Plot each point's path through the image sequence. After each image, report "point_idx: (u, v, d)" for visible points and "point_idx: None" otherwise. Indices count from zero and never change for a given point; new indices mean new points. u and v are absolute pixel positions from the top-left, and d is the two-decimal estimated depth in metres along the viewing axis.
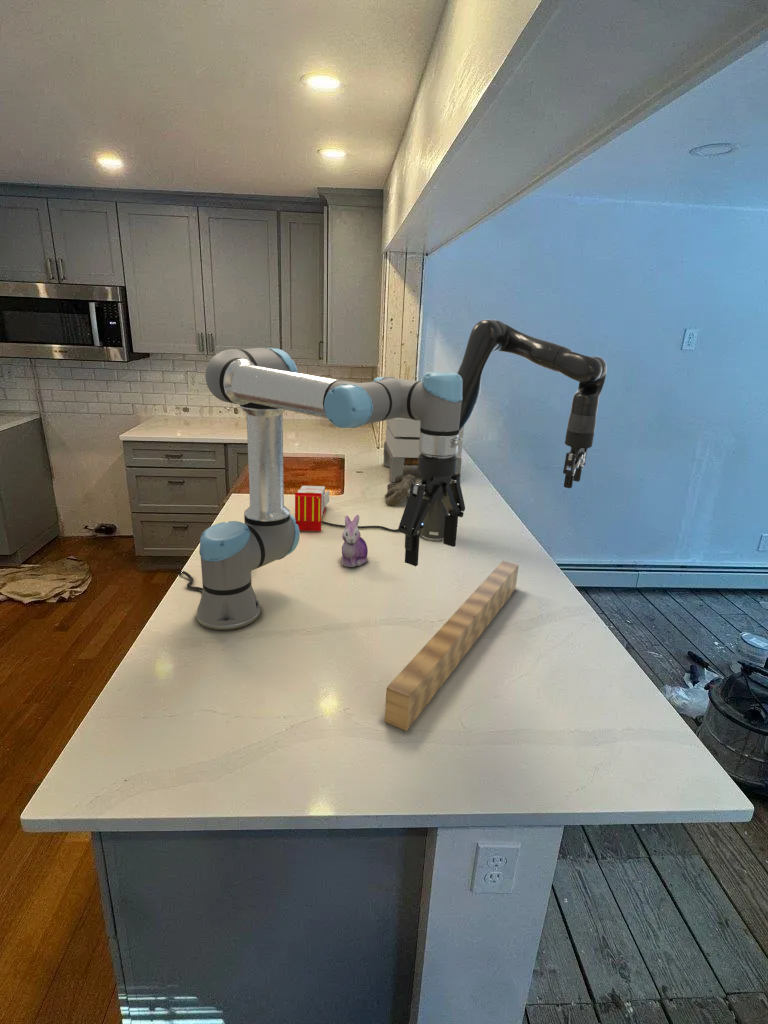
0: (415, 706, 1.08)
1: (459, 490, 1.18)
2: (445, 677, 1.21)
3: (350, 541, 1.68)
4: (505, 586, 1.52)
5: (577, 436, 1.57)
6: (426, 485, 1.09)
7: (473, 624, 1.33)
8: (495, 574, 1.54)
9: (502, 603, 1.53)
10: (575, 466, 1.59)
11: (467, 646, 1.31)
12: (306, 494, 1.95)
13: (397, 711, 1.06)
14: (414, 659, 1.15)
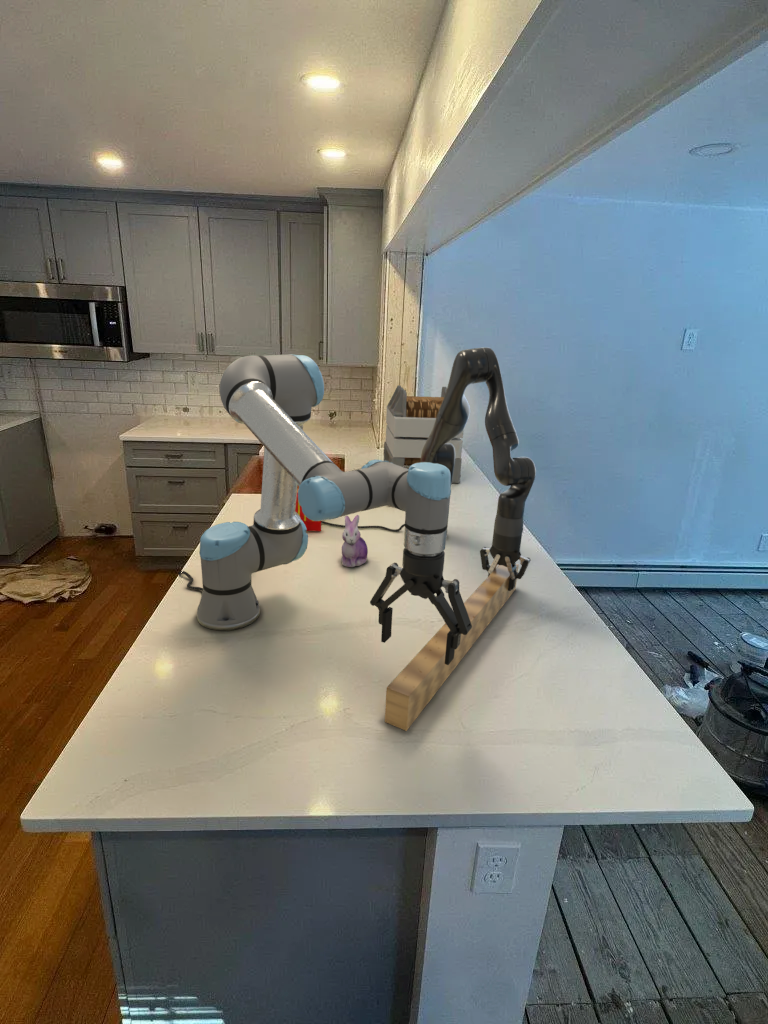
0: (415, 706, 1.08)
1: (454, 605, 1.01)
2: (445, 677, 1.21)
3: (350, 541, 1.68)
4: (505, 586, 1.52)
5: (521, 537, 1.51)
6: (400, 571, 1.05)
7: (473, 624, 1.33)
8: (495, 574, 1.54)
9: (502, 603, 1.53)
10: (515, 567, 1.55)
11: (467, 646, 1.31)
12: None
13: (397, 711, 1.06)
14: (414, 659, 1.15)
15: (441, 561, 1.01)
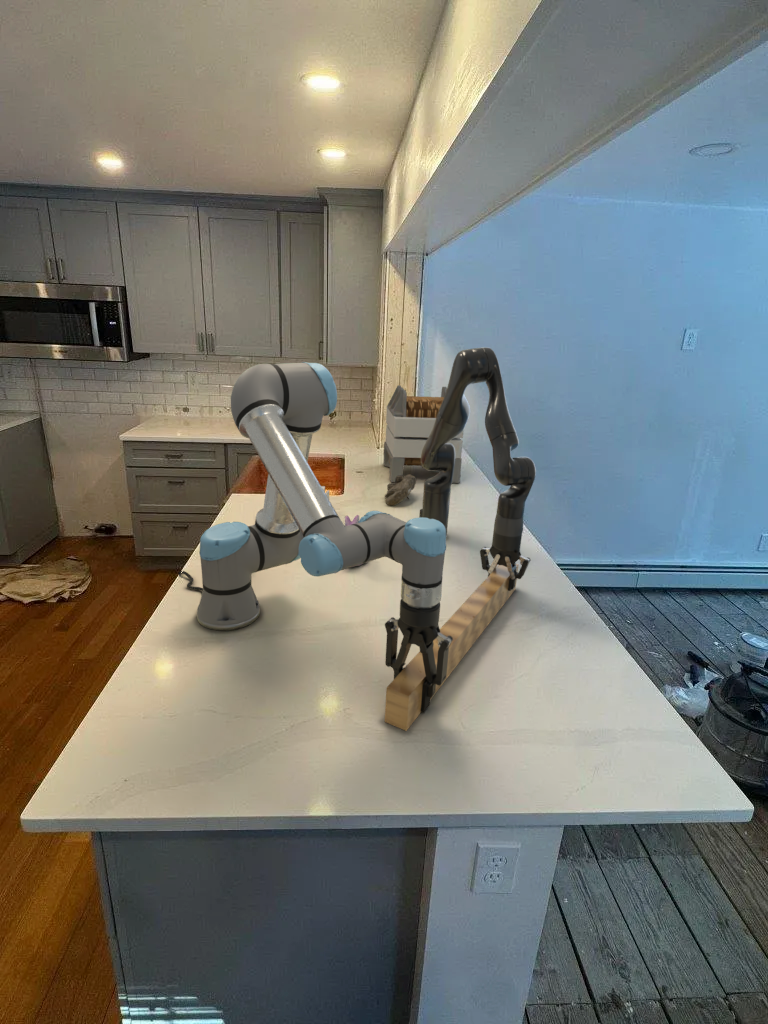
0: (415, 706, 1.08)
1: (440, 659, 1.06)
2: None
3: None
4: (505, 586, 1.52)
5: (521, 537, 1.51)
6: (397, 622, 1.09)
7: (473, 624, 1.33)
8: (495, 574, 1.54)
9: (502, 603, 1.53)
10: (515, 567, 1.55)
11: (467, 646, 1.31)
12: None
13: (397, 711, 1.06)
14: (414, 659, 1.15)
15: (437, 612, 1.04)
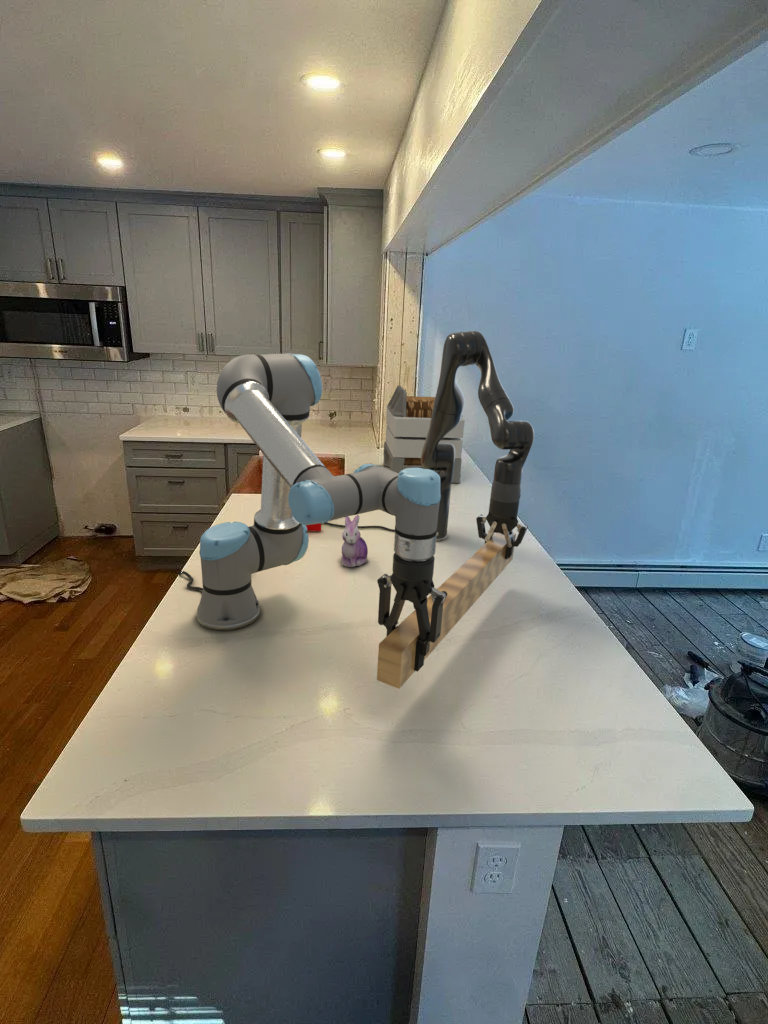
0: (408, 664, 1.05)
1: (434, 614, 1.03)
2: (440, 639, 1.18)
3: (350, 541, 1.68)
4: (502, 554, 1.49)
5: (518, 504, 1.47)
6: (390, 578, 1.06)
7: (469, 588, 1.29)
8: (491, 542, 1.51)
9: (499, 571, 1.50)
10: (512, 535, 1.52)
11: (462, 610, 1.28)
12: None
13: (389, 668, 1.03)
14: (408, 618, 1.12)
15: (431, 566, 1.01)
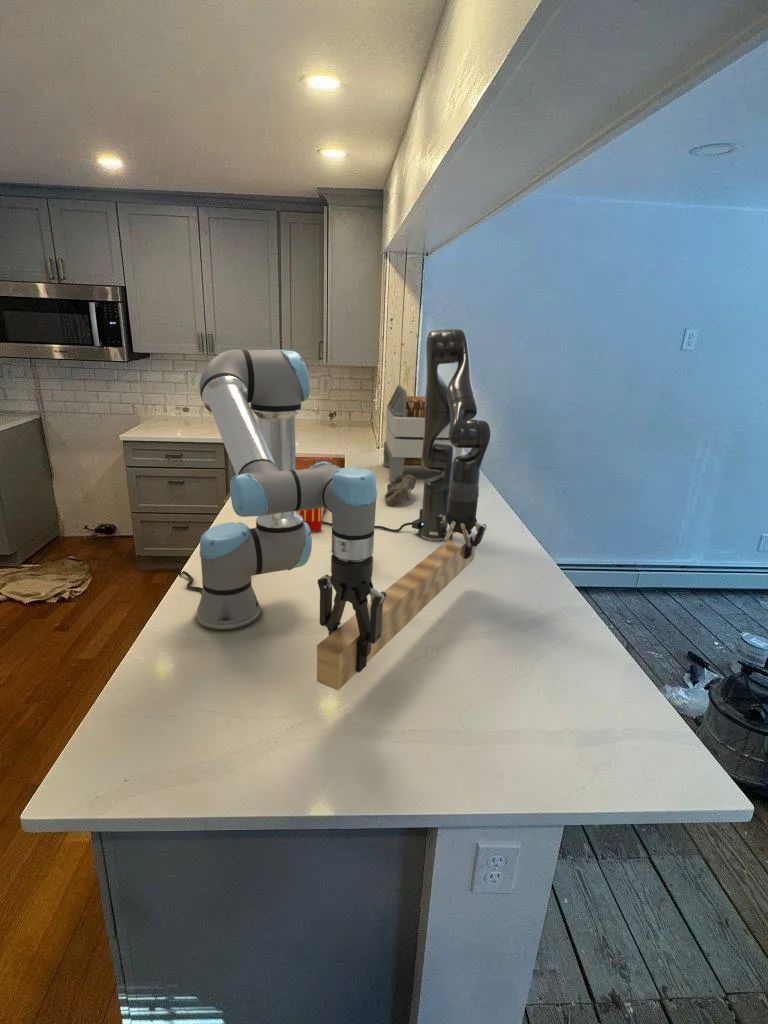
0: (348, 666, 1.04)
1: (373, 615, 1.02)
2: (386, 640, 1.17)
3: None
4: (460, 554, 1.48)
5: (476, 503, 1.46)
6: None
7: (421, 588, 1.28)
8: (450, 541, 1.50)
9: (457, 571, 1.49)
10: (472, 534, 1.51)
11: (413, 611, 1.27)
12: None
13: (328, 669, 1.02)
14: (351, 619, 1.11)
15: (368, 566, 1.00)
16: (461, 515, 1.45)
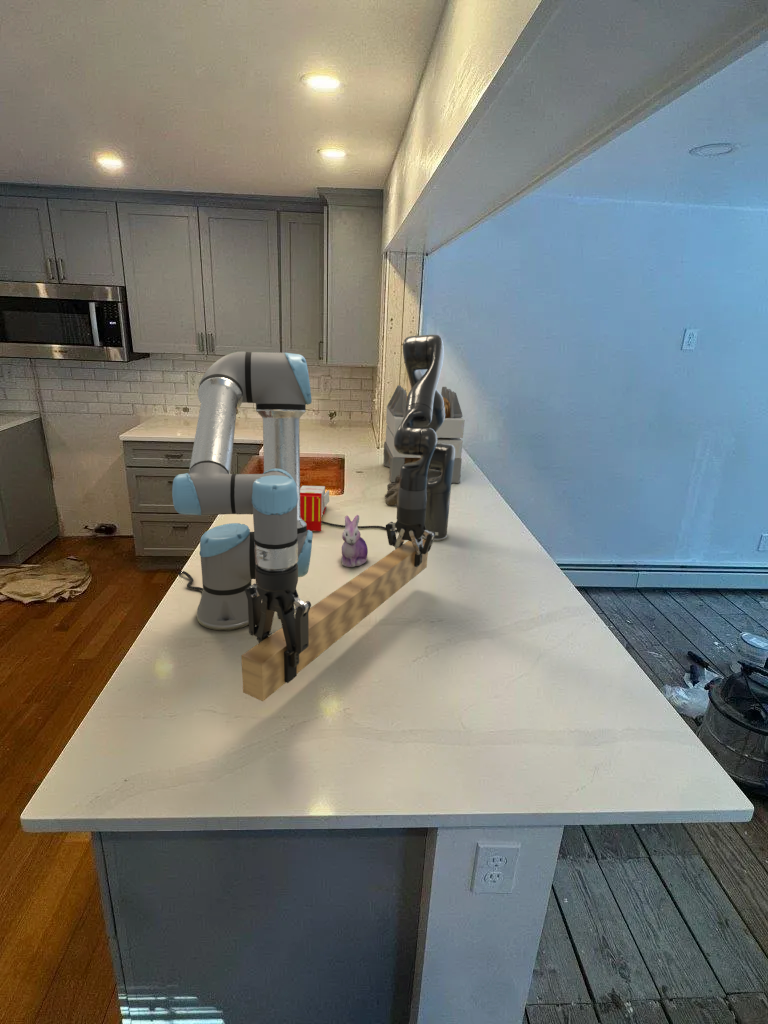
0: (274, 676, 1.03)
1: (297, 625, 1.01)
2: (321, 649, 1.16)
3: (350, 541, 1.68)
4: (409, 561, 1.47)
5: (424, 511, 1.45)
6: None
7: (362, 597, 1.27)
8: (400, 549, 1.49)
9: (407, 579, 1.48)
10: (421, 542, 1.50)
11: (354, 620, 1.26)
12: (306, 494, 1.95)
13: (253, 680, 1.01)
14: (282, 628, 1.10)
15: (291, 576, 0.99)
16: (409, 523, 1.44)
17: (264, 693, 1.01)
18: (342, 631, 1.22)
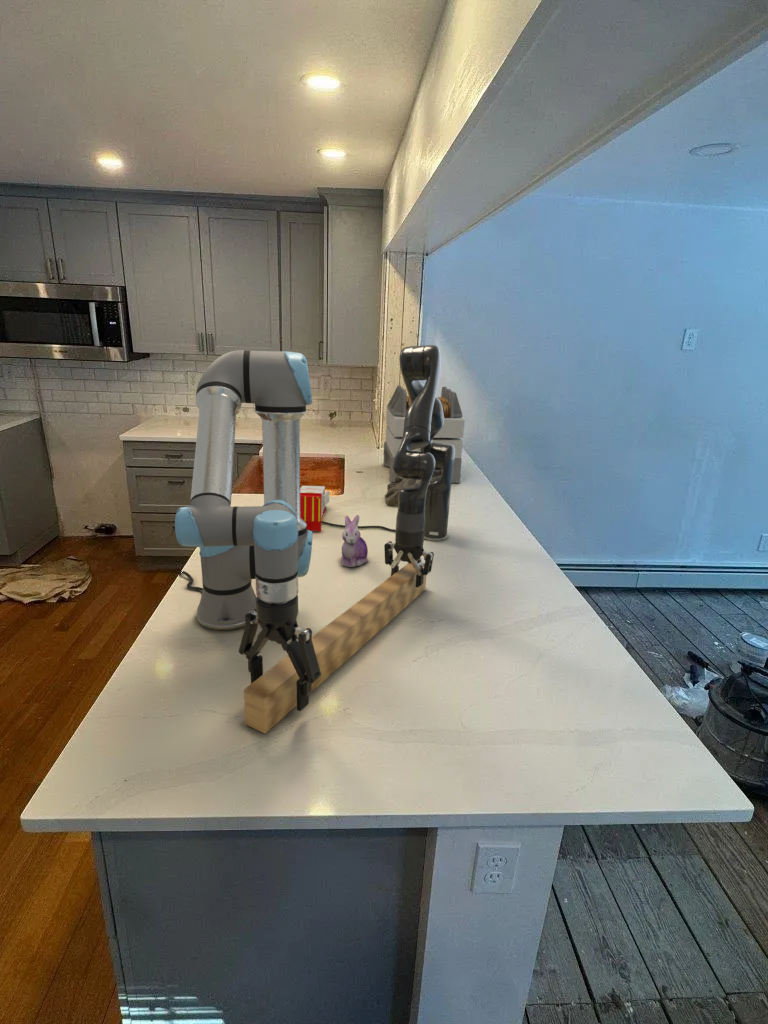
0: (276, 709, 1.06)
1: (303, 654, 1.02)
2: (322, 678, 1.19)
3: (350, 541, 1.68)
4: (408, 586, 1.50)
5: (423, 533, 1.48)
6: None
7: (361, 625, 1.30)
8: (399, 573, 1.52)
9: (405, 603, 1.51)
10: (421, 563, 1.51)
11: (353, 647, 1.29)
12: (306, 494, 1.95)
13: (255, 713, 1.04)
14: (283, 660, 1.13)
15: (292, 608, 1.01)
16: (407, 545, 1.46)
17: (266, 726, 1.04)
18: (342, 659, 1.25)
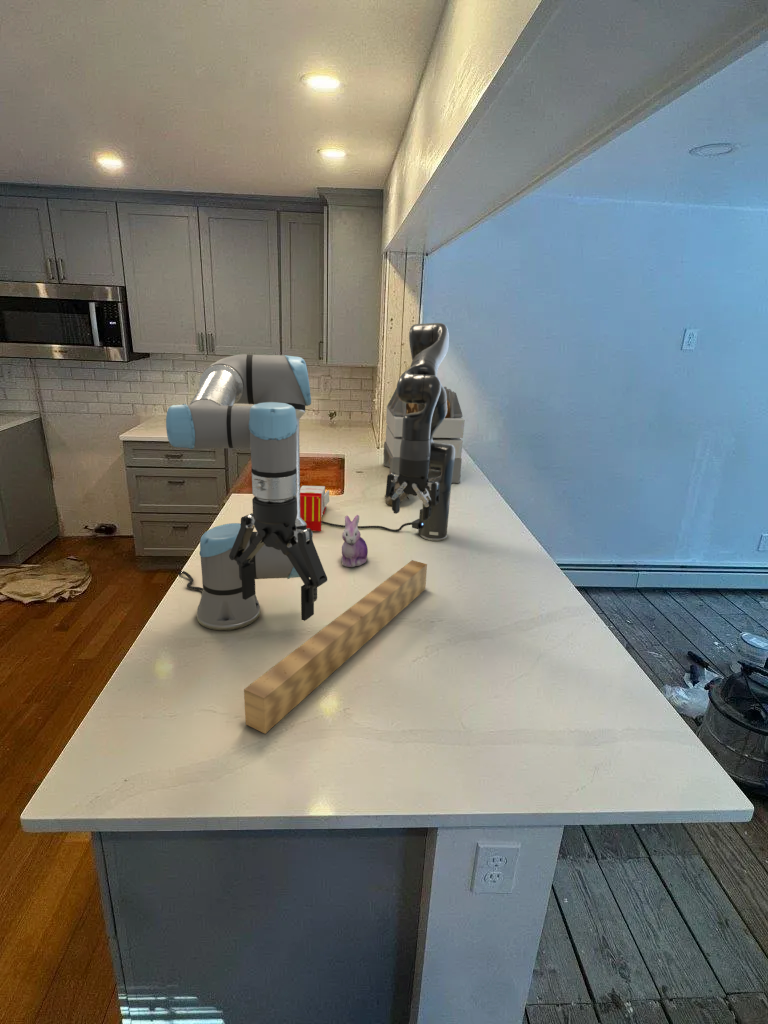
0: (276, 709, 1.06)
1: (304, 555, 0.95)
2: (322, 678, 1.19)
3: (350, 541, 1.68)
4: (408, 586, 1.50)
5: (428, 463, 1.41)
6: None
7: (361, 625, 1.30)
8: (399, 573, 1.52)
9: (405, 603, 1.51)
10: (428, 494, 1.45)
11: (353, 647, 1.29)
12: (306, 494, 1.95)
13: (255, 713, 1.04)
14: (283, 660, 1.13)
15: (290, 508, 0.95)
16: (411, 475, 1.40)
17: (266, 726, 1.04)
18: (342, 659, 1.25)
